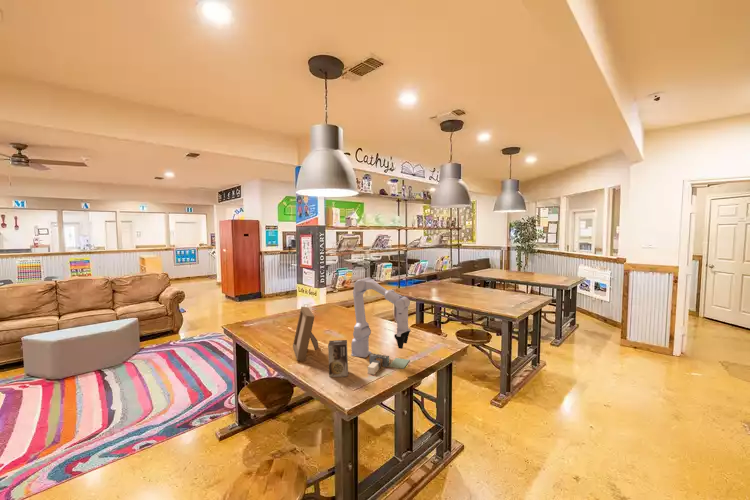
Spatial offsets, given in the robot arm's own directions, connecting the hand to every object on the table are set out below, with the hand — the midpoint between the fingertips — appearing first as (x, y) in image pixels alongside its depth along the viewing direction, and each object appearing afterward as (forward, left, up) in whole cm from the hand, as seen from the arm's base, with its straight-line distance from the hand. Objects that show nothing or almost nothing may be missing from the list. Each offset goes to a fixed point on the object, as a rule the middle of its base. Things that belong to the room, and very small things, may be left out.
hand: (402, 345), depth 165 cm
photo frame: (-56, -5, -10) cm, 58 cm away
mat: (-2, 0, -10) cm, 10 cm away
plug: (-11, -12, -10) cm, 19 cm away
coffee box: (-26, -22, -10) cm, 36 cm away
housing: (-11, -5, -10) cm, 16 cm away
